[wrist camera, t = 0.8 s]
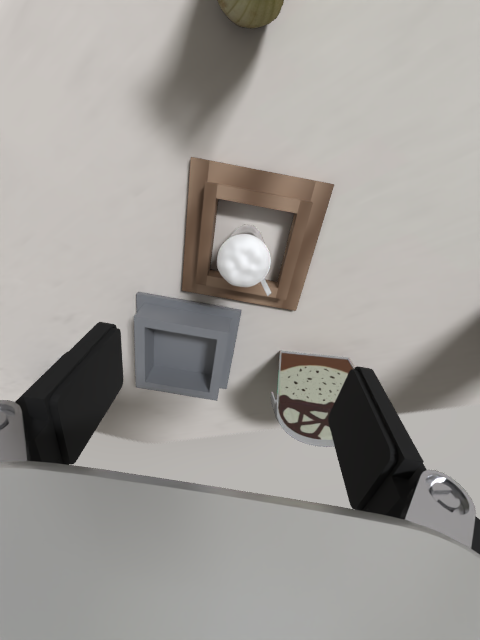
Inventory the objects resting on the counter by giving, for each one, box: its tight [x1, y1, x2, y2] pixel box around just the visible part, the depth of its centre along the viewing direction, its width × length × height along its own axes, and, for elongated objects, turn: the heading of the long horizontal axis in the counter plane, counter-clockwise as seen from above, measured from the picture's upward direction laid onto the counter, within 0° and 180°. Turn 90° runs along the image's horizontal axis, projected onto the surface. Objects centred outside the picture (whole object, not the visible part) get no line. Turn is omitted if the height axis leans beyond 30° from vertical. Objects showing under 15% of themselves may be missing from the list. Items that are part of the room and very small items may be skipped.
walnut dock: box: [182, 157, 334, 311], centre depth 30 cm, size 14×14×2 cm
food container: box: [271, 351, 355, 447], centre depth 35 cm, size 12×6×10 cm, turn 85°
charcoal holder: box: [134, 292, 241, 401], centre depth 36 cm, size 13×13×4 cm
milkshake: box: [217, 224, 271, 296], centre depth 26 cm, size 5×5×10 cm
